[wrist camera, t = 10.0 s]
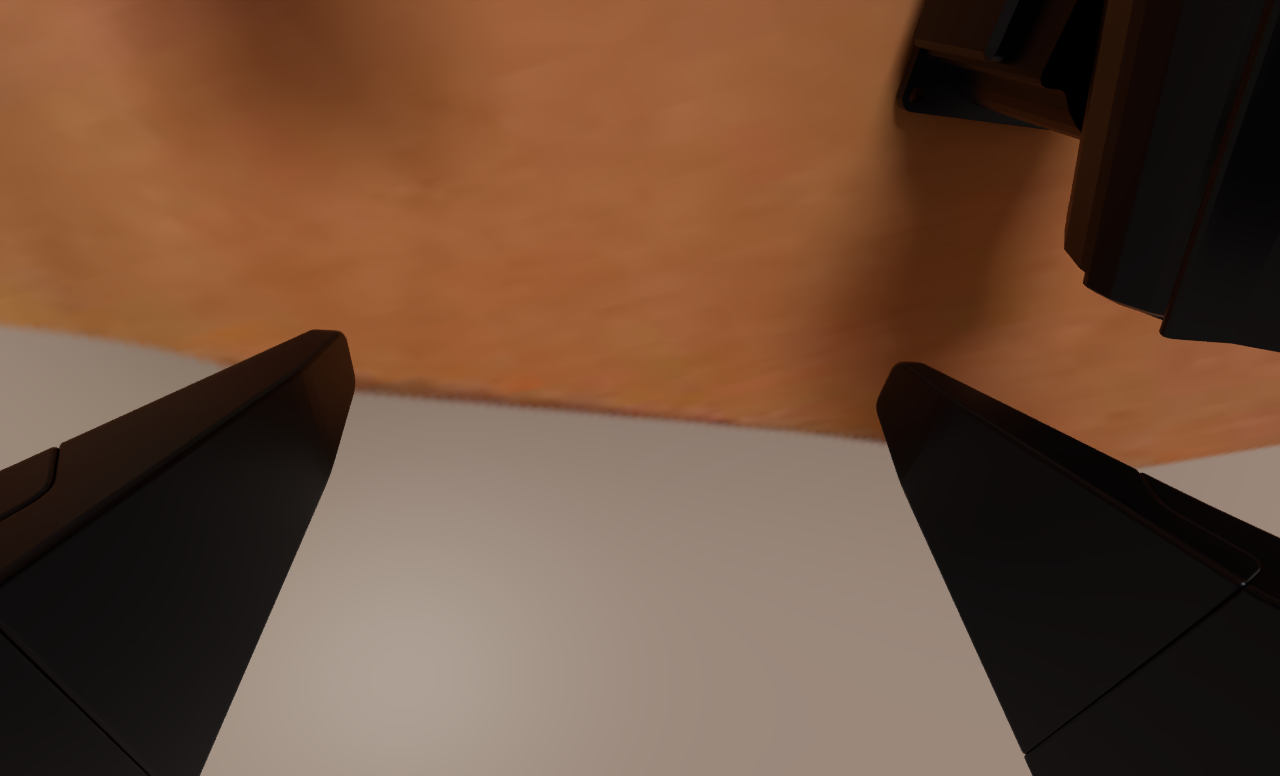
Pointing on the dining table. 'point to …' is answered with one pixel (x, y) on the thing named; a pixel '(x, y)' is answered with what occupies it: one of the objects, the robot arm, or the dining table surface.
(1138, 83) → the robot arm
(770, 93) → the dining table surface
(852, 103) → the dining table surface
